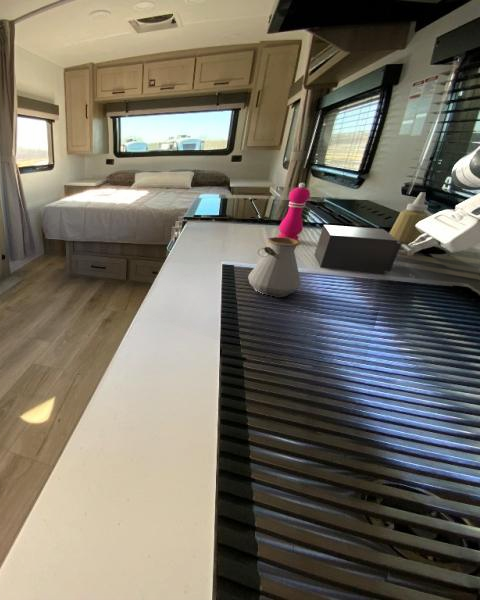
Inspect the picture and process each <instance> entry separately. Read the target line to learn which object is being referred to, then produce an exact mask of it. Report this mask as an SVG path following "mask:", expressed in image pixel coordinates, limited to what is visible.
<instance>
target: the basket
mask: <svg viewBox="0 0 480 600" xmlns="http://www.w3.org/2000/svg"><path fill="white" fill-rule="evenodd" d="M399 249H401V250H399ZM415 253H416V252H414V251H413V250H412V249H411V248H409V247H408V246H407V245H406V244H402V245H401V243H400V242H399V241H398V242H397V244H396V246H395V249H394V251H393V254H392V256H391V258H390V261H389V263H388V266H387V268H386V270H385V272H391V270H392V268H393V265H394V263H395V260H396V258H397V256H398V254H405V255H406V256H409V257H410V256H414V255H415Z"/></svg>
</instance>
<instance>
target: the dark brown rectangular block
mask: <svg viewBox="0 0 480 600" xmlns="http://www.w3.org/2000/svg"><path fill="white" fill-rule="evenodd" d="M389 233H390V232H388V231H387V230H385V229H384V228H374V227H362V226H361V227H358V226H346V225H345V226H344V225H332V224H323V226H322V229H321V232H320V235H319V238H318V242H317V245H316V248H315V252H314V257H315V259H316V261H317V263H318V265H319V268H321V269H331V270H340V271H349V272H356V273H357V272H358V273H365V274H373V273H374V274H375V275H385V273H386V271H385V270H386V268H387V266H388V263H389V261H390V258H391V256H392V254H393V251H394V249H395V246H396V244H397V242H398V240H397V239H395V238H394V237H393V236H391V235H390V234H389Z"/></svg>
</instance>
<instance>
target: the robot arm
mask: <svg viewBox="0 0 480 600" xmlns="http://www.w3.org/2000/svg"><path fill="white" fill-rule="evenodd" d="M450 177H451V180H452V182H453V184H454V185H455V186H456V187H458V188H459V189H462V190H466V191H480V144H479V145H478V146H477V147H476V148H475V149H473V150H471V151H470V152H469V153H467V154H466V155H464V156H462V157H461V158H460V159H459V160H458V161H457V162H456V163H455V164H454V165H453V167H452V169H451V175H450ZM415 227H416V228H417V229H418V231H419V232H420V233H421V234H422V235H420V236H419V237H418V238H417V239H416V240H415V241H414V242H412V243H410V244H408V245H407V246H408V247H409V248H411V249H412V250H413V251H414V252H415V253H417V252H419V251H421V250H425V249H428V248H433V247H435V246H437V245H438V246H440V247H442V248H443V249H446V250H447V251H448V252H450V253H459V252H463V251H465V250H467V249H470V248H472V247H475V246H477V245H480V192H479V193H476V194H475V195H473V196H471V197H469V198H467V199H465V200H464V201H462V202H460V203H458V204H456V205H455V207H454V208H453V209H450V208H449V209H448V208H447V209H443V210H441V211H438V212H436V213H434V214H432V215H430V216H428V218H426V219H424V220H422V221H420V222H418V223H417V224H416V225H415Z"/></svg>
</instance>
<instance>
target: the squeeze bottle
mask: <svg viewBox="0 0 480 600" xmlns="http://www.w3.org/2000/svg"><path fill="white" fill-rule="evenodd" d="M426 194H427V193H426V192H422V191H421V192H419V194H418V195H417V197H416V198H415V200H414V201H413V203H408V204H407V206H406V208H405V210H402V211H401V212H400V213H399V214H398V216H397V218H396V220H395V222H394V223H393V224H392V225H393V226H392V227H391V229H390V230H389V232H388V233H389V234H390V235H391V236H393V237H394V238H395V239H397V240H398V241H399V242H400V243H401V245H402V244H406V245H408V244H410V243H412V242H414V241H415V240H416V239H417V238H418V237H419V236H420V235H422V234H421V233H420V232H419V231H418V229H417V228H416V227H415V225H416V224H417V223H418V222H420V221H422V220H424V219H426V218H428V217H429V213H428V212H426V211H427V210H428V207H429V205H428V204H425V202H426ZM399 250H401V249H399Z"/></svg>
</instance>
